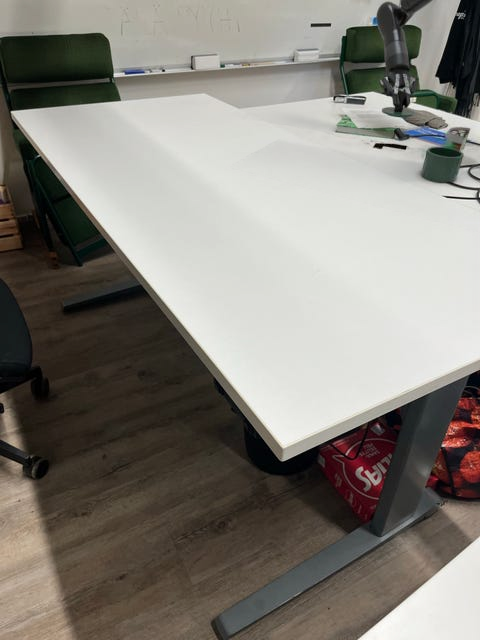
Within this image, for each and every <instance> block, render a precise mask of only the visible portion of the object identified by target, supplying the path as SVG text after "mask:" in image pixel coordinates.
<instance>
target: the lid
mask: <svg viewBox="0 0 480 640" xmlns="http://www.w3.org/2000/svg"><path fill="white" fill-rule="evenodd" d="M397 94H398V95H399V103H400V104H399V106H398V107H397V108H395V106H387V107H386V106H385V107H383V108H381V113H382V114H385V115H387V116H389V117H393V118H400V119H401V118H403V119H404V118H410V117H413V116H415V113H416V112H415V111H414V110H412V109H410V108H404V103H405V98H406V94H407V92H405V91H401V90H398V93H397Z"/></svg>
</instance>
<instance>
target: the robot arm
mask: <svg viewBox="0 0 480 640" xmlns="http://www.w3.org/2000/svg"><path fill="white" fill-rule="evenodd" d="M432 1H433V0H400V5H399V4H396V3H394V2H392V1H384V2H382V3H381V4H380V5H379V7H378V9H377V11H376V17H375V19H376V25H377V28H378V30H379V33H380V36H381V37H382V40H383V50H384V64H385V65H384V66H385V73H386V76H382V77H381V79H380V80H379V82H378V83H379V85H380V87H381V89H382V91H383V92H384V94H385V96H386V97H391V100H392V105H393V107H395V108H397V107H398V106H399V104H400V103H399V95H398V91H399V89H400V91H405V92H407V94H406V98H405V103H404V107H403V108H405V109H408V107H409V106H410V105H411V97H412V96H413V95H414V93H415V92H416V89H417V86H418V84H419V81H420V78H419V77H413V76H412V74H411V73H410V59H409V53H408V47H407V41H406V34H405V31H404V29H403V28H404V26H406V24H407V23H408V22H409V21H410V19H411V18H413V16H414V15H415V14H416V13H418V12H419V11H421V9H423V8H424V7H426V6H427V5H429V4H430V3H431V2H432Z"/></svg>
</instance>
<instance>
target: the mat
mask: <svg viewBox="0 0 480 640" xmlns="http://www.w3.org/2000/svg"><path fill="white" fill-rule="evenodd" d="M384 147H385V148H390V149H398V150H403V151H407V148H408V145H405V144H400V143H389V142H388V143H386V142H385V143H384V142H375V143H374V144H373V146H372V148H373V149H379V150H383V148H384Z"/></svg>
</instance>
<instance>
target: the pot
mask: <svg viewBox="0 0 480 640" xmlns="http://www.w3.org/2000/svg"><path fill="white" fill-rule="evenodd" d="M463 159H464V153H463V152H462V151H461V152H460V151H458V150H455V149H451V148H446V147H445V146H431V147H428V148H427V149H426V153H425V156H424V160H423V163H422V168H421V171H420V176H421V177H422V178H424V179H426V180H428V181H431V182H436V183H442V184H443V183H444V184H445V183H446V184H447V183H453V182H455V181H457V178H458V174H459V171H460V169H461V165H462V163H463Z"/></svg>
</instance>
